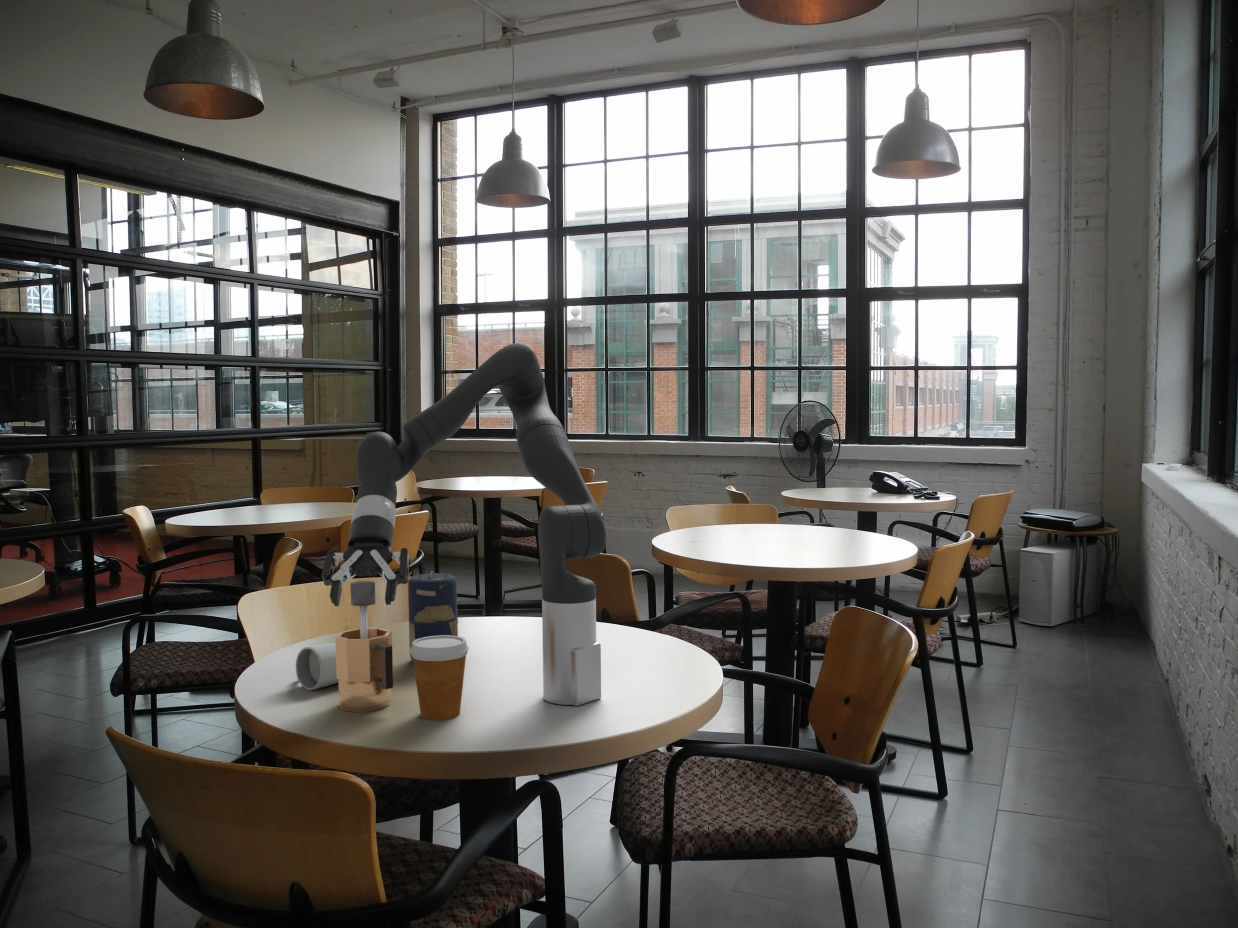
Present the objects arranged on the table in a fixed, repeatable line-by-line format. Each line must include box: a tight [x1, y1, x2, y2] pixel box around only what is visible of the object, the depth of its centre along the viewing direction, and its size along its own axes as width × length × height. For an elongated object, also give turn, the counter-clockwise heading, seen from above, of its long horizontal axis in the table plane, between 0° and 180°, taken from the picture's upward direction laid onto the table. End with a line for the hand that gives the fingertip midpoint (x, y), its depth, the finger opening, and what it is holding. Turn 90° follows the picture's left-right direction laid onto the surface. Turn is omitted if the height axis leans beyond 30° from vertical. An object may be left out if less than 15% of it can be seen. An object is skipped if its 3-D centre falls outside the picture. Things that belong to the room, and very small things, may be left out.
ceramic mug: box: [295, 642, 338, 691], centre depth 172 cm, size 11×8×8 cm
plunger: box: [350, 580, 376, 639], centre depth 159 cm, size 4×4×15 cm
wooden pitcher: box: [335, 627, 394, 713], centre depth 158 cm, size 11×9×12 cm
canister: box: [407, 570, 459, 661], centre depth 187 cm, size 10×10×18 cm
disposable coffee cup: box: [409, 635, 470, 721], centre depth 154 cm, size 10×10×12 cm
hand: (361, 602), depth 157 cm, fingers open, 8 cm apart
